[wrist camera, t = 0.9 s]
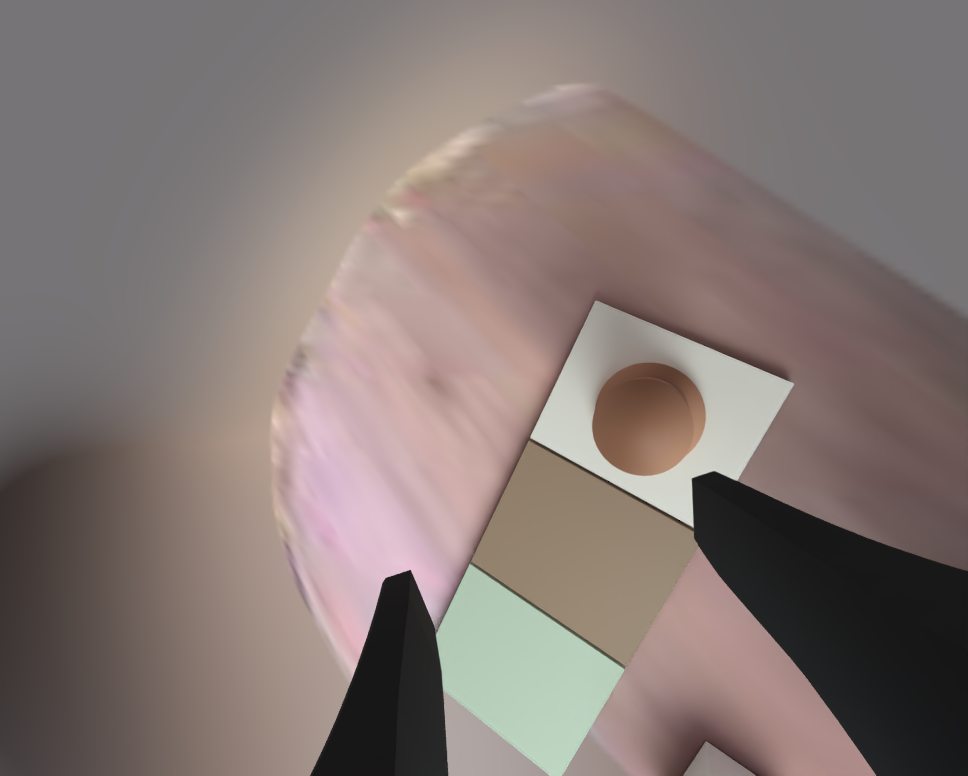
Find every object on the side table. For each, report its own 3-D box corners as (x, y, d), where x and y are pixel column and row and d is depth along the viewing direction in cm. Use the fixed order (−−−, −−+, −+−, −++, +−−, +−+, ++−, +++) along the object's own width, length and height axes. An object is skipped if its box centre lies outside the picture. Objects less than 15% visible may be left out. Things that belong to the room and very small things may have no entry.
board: (791, 383, 22) (794, 383, 22) (559, 775, 27) (558, 782, 27) (597, 301, 25) (595, 300, 25) (422, 665, 30) (418, 670, 30)
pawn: (725, 390, 23) (741, 398, 17) (673, 482, 24) (673, 518, 18) (624, 345, 24) (609, 339, 19) (580, 433, 25) (554, 452, 20)
